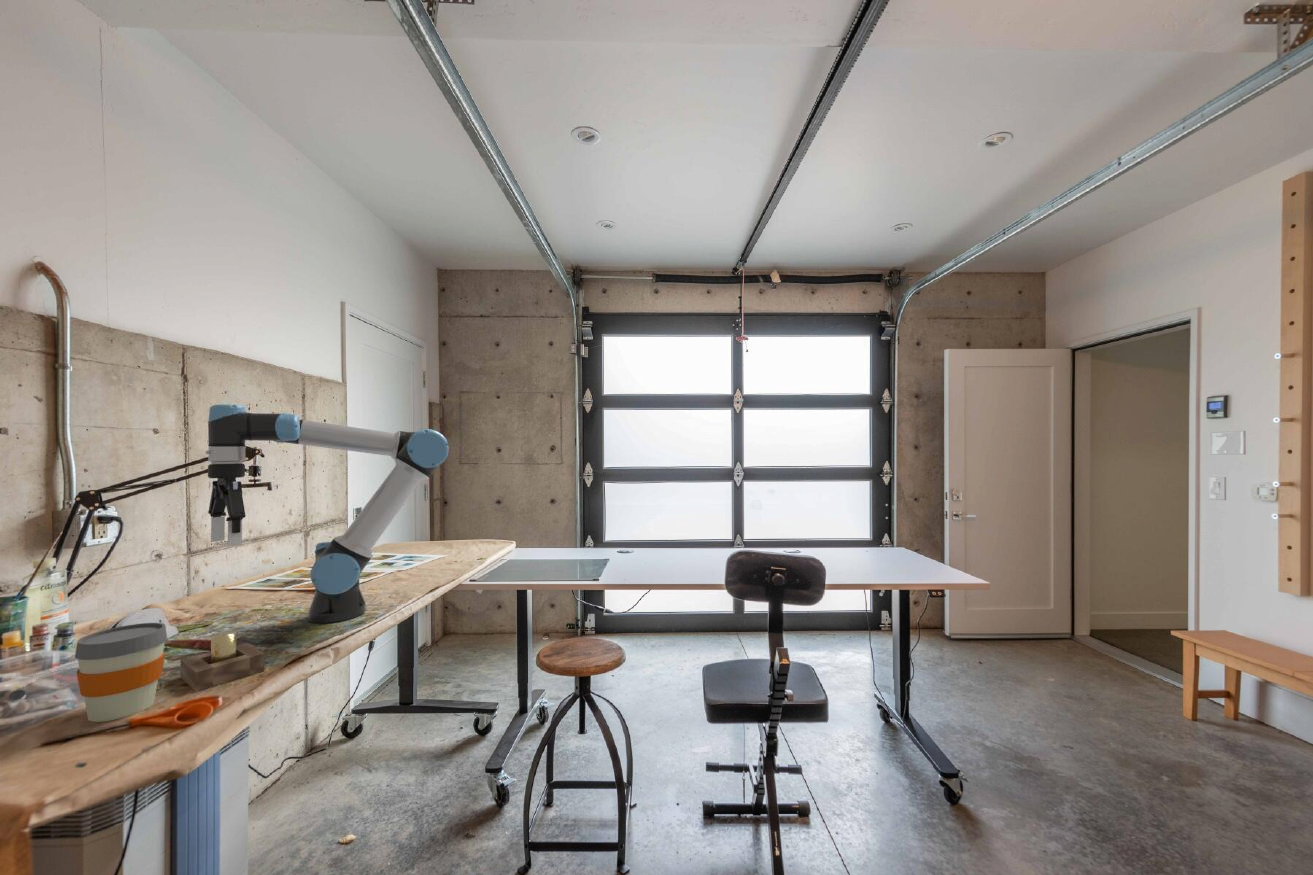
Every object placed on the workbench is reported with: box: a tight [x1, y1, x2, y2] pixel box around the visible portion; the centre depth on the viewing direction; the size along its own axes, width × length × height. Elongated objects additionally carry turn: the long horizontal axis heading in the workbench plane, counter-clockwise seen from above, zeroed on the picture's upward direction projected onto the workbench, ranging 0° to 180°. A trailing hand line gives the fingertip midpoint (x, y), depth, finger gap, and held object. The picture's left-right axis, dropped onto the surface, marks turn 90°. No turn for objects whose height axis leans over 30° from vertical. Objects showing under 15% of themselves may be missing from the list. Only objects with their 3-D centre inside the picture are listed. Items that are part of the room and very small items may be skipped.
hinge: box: [105, 607, 179, 639], centre depth 135 cm, size 17×5×10 cm, turn 15°
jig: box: [179, 642, 266, 692], centre depth 115 cm, size 12×12×4 cm
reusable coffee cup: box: [74, 623, 168, 723], centre depth 100 cm, size 13×13×15 cm
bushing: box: [210, 630, 237, 664], centre depth 115 cm, size 4×4×9 cm
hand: (225, 543), depth 134 cm, fingers open, 13 cm apart
